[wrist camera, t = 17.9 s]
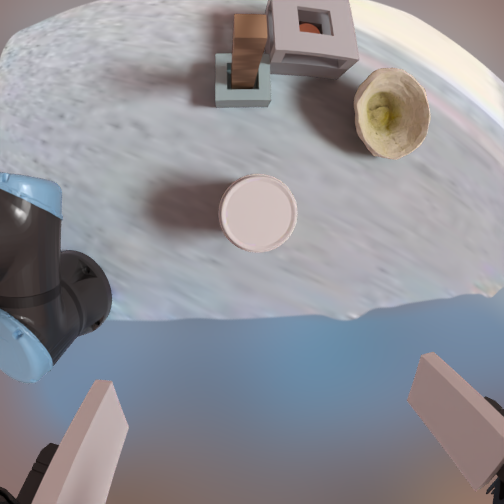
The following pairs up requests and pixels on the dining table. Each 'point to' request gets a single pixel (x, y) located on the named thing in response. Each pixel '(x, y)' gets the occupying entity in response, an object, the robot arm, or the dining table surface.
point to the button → (308, 28)
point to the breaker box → (310, 38)
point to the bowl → (391, 113)
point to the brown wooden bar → (247, 49)
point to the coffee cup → (257, 213)
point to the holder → (241, 97)
